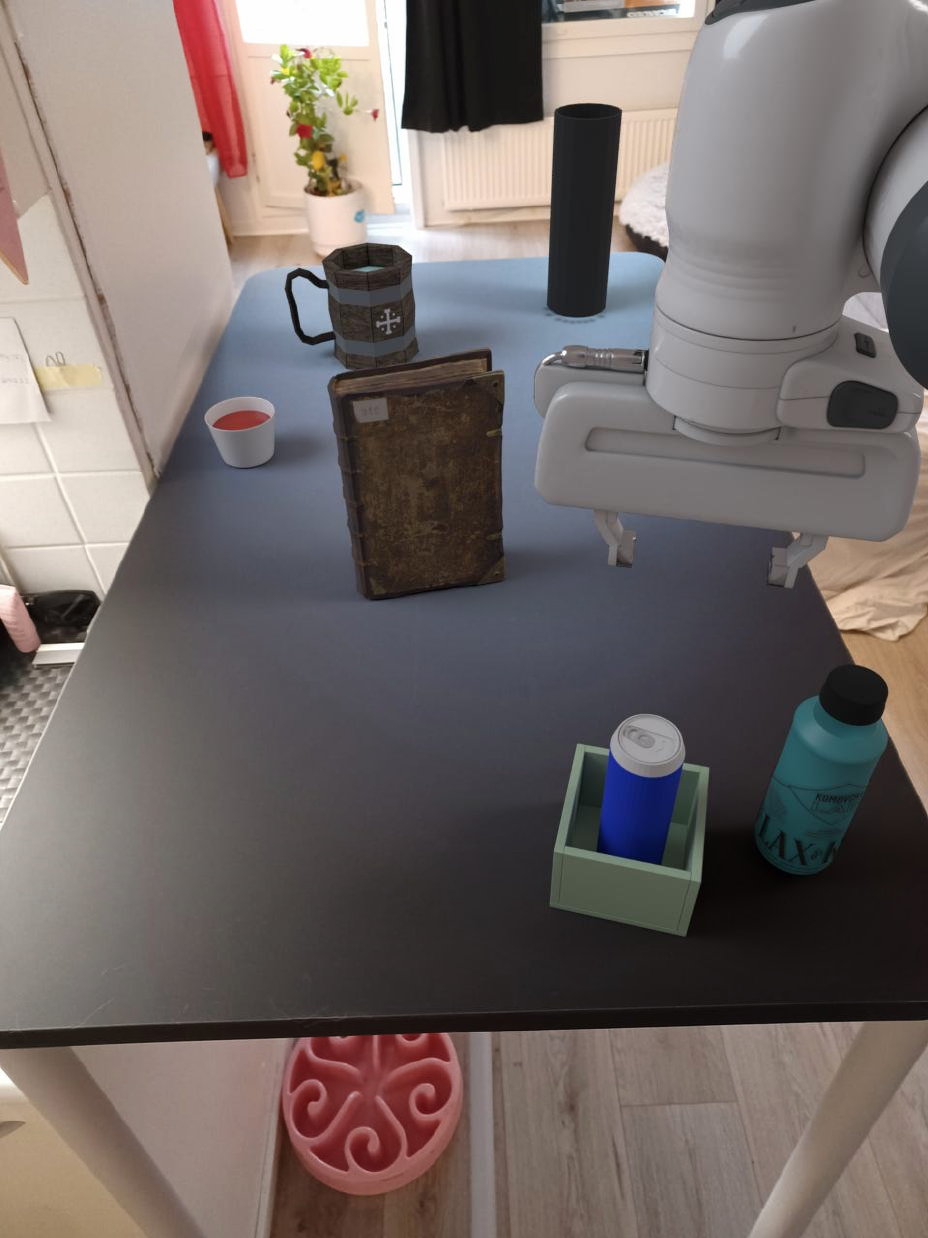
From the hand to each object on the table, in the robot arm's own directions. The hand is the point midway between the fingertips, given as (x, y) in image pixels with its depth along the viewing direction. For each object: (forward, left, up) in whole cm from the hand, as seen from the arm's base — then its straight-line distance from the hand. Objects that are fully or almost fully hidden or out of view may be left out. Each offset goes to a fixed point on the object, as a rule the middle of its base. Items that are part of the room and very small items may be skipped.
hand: (698, 570), depth 54 cm
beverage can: (+1, +3, -28) cm, 28 cm away
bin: (+1, +3, -29) cm, 29 cm away
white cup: (+58, -48, -29) cm, 81 cm away
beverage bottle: (-11, -1, -29) cm, 31 cm away
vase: (+23, -106, -29) cm, 113 cm away
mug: (+54, -80, -29) cm, 101 cm away
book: (+27, -29, -29) cm, 49 cm away
